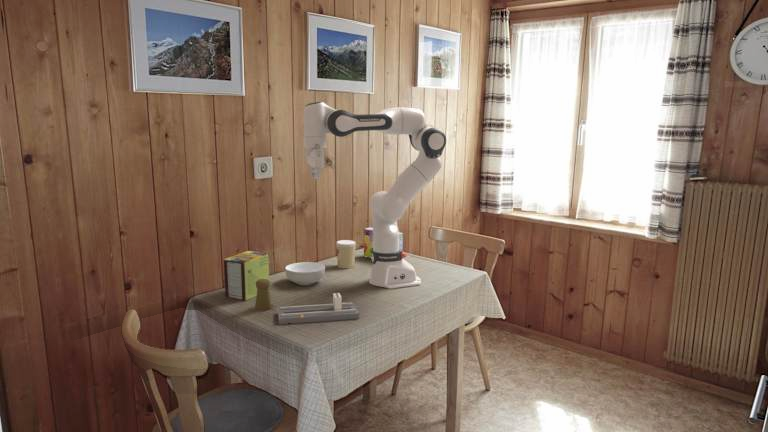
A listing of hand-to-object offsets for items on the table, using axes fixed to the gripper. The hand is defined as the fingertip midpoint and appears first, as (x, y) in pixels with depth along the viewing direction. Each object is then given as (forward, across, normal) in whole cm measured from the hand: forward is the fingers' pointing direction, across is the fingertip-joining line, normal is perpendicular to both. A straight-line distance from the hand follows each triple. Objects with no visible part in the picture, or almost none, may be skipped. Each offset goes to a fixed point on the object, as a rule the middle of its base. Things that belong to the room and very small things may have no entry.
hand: (315, 178), depth 217 cm
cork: (+46, -19, +23) cm, 55 cm away
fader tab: (+44, -32, -2) cm, 54 cm away
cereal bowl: (+46, +8, +4) cm, 47 cm away
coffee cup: (+46, +28, -18) cm, 57 cm away
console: (+46, -32, +5) cm, 56 cm away
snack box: (+47, +36, -39) cm, 70 cm away
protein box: (+46, 0, +28) cm, 54 cm away
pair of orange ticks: (+44, -31, +11) cm, 55 cm away
